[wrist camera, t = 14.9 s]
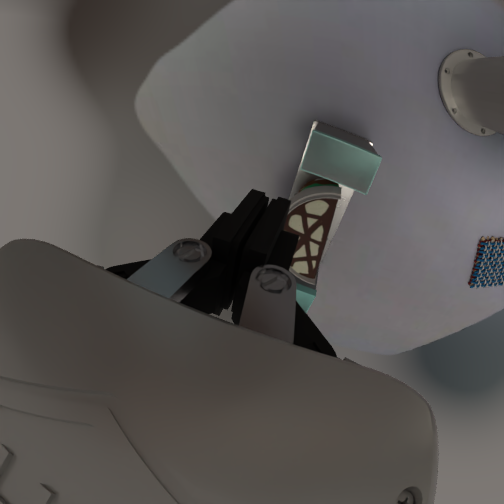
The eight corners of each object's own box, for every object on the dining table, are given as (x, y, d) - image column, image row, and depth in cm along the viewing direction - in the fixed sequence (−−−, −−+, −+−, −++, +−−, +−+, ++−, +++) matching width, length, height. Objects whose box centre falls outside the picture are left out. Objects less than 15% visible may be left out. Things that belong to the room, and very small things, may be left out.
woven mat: (505, 280, 35) (509, 287, 33) (465, 284, 38) (469, 291, 37) (519, 233, 30) (524, 239, 28) (477, 234, 33) (482, 240, 32)
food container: (294, 156, 34) (280, 179, 26) (340, 167, 33) (342, 194, 25) (280, 235, 41) (264, 275, 33) (319, 244, 40) (313, 288, 32)
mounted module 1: (320, 257, 42) (315, 296, 34) (311, 276, 44) (304, 316, 37) (277, 241, 42) (262, 277, 35) (269, 261, 45) (255, 299, 38)
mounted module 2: (370, 142, 30) (382, 158, 23) (359, 170, 33) (366, 195, 26) (317, 121, 31) (312, 130, 24) (307, 150, 33) (299, 169, 26)
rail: (370, 141, 32) (372, 144, 30) (314, 270, 46) (313, 277, 44) (314, 119, 32) (313, 121, 31) (270, 253, 46) (267, 260, 45)
